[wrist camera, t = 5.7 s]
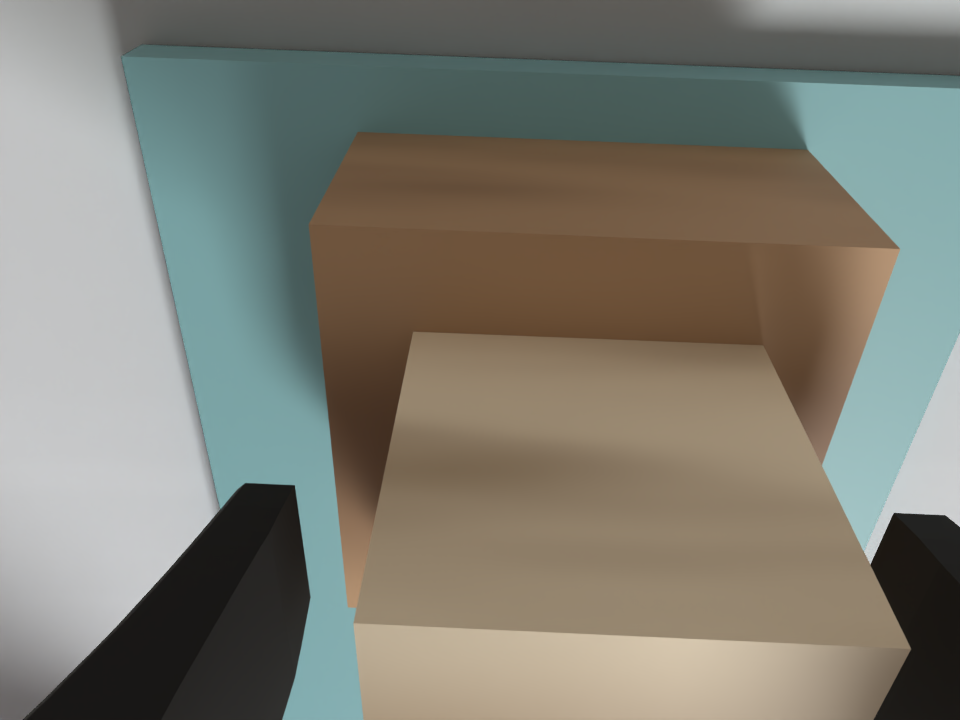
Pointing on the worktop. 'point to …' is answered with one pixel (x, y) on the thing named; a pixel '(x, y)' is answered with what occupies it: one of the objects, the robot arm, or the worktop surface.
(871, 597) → the maple block
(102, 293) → the worktop surface
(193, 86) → the build board
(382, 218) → the walnut block
